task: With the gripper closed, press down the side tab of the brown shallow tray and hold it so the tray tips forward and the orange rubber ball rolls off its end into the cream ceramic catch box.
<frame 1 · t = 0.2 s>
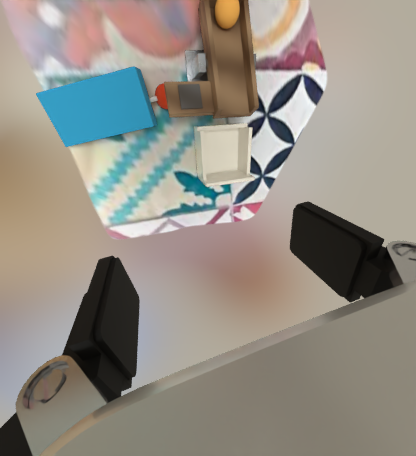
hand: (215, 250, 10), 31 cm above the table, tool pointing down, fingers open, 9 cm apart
catch box: (218, 151, 38), on the table
brown shallow tray: (206, 60, 26), point 6 cm above the table, hinge at -22.0°, touching ball
stand: (216, 71, 31), on the table
lever 2: (119, 108, 31), on the table
ball: (227, 10, 24), point 5 cm above the table, tilted 13°, touching brown shallow tray
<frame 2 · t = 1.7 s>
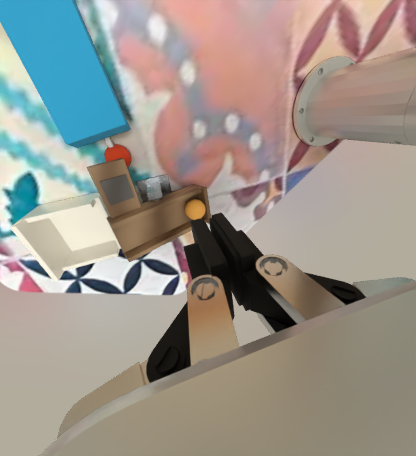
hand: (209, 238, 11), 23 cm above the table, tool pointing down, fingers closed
catch box: (86, 223, 31), on the table
brown shallow tray: (157, 199, 27), point 6 cm above the table, hinge at -22.0°, touching ball
stand: (160, 205, 33), on the table
lever 2: (88, 95, 24), on the table
ball: (195, 209, 30), point 5 cm above the table, tilted 13°, touching brown shallow tray
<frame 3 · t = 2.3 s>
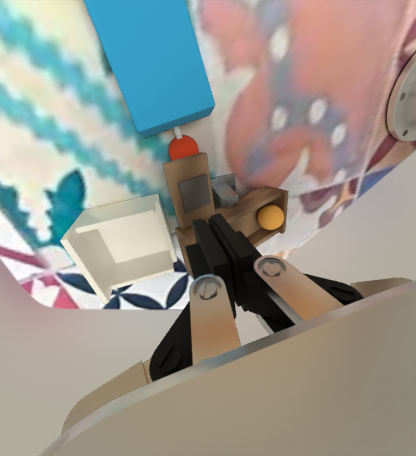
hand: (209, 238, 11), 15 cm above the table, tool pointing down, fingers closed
catch box: (134, 231, 26), on the table
brown shallow tray: (232, 205, 22), point 6 cm above the table, hinge at -22.0°, touching ball
stand: (219, 210, 28), on the table
lever 2: (155, 70, 19), on the table
ball: (270, 217, 24), point 5 cm above the table, tilted 13°, touching brown shallow tray
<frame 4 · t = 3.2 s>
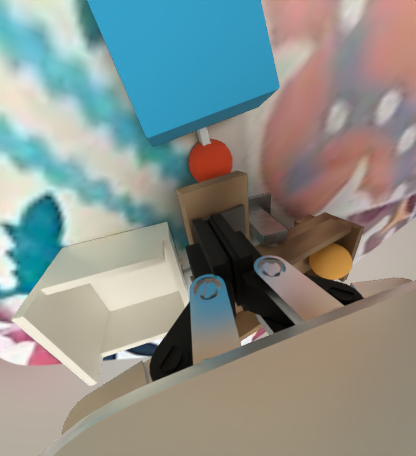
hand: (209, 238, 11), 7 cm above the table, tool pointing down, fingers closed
catch box: (134, 270, 19), on the table
brown shallow tray: (277, 245, 15), point 6 cm above the table, hinge at -12.9°, touching ball, gripper
stand: (247, 239, 21), on the table
lever 2: (168, 39, 12), on the table
ball: (329, 260, 17), point 6 cm above the table, touching brown shallow tray
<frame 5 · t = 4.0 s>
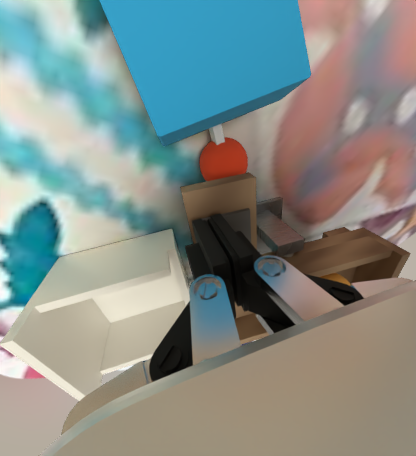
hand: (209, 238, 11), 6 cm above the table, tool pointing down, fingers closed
catch box: (136, 280, 18), on the table
brown shallow tray: (290, 256, 13), point 6 cm above the table, hinge at 2.2°, touching ball, gripper
stand: (255, 246, 20), on the table
lever 2: (177, 26, 11), on the table
ball: (328, 293, 14), point 7 cm above the table, tilted 100°, touching brown shallow tray
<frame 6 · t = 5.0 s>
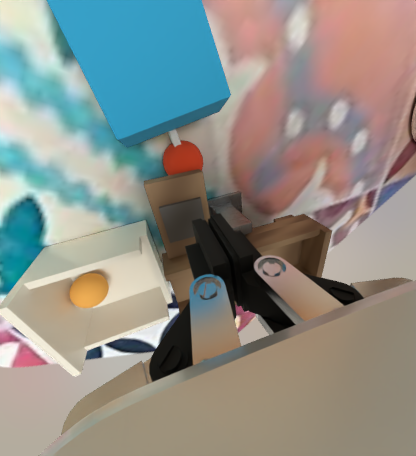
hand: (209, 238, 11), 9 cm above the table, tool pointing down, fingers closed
catch box: (116, 268, 20), on the table
brown shallow tray: (242, 237, 16), point 6 cm above the table, hinge at 2.4°
stand: (222, 235, 23), on the table
lever 2: (138, 53, 14), on the table
ball: (90, 290, 18), point 2 cm above the table, tilted 35°, touching catch box
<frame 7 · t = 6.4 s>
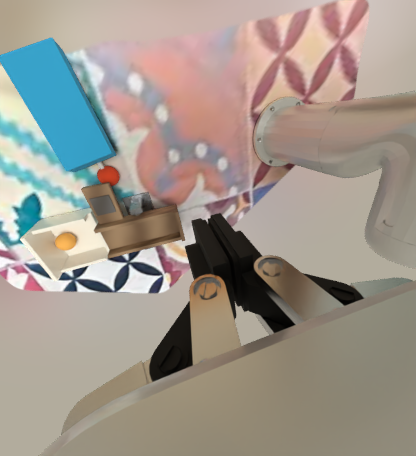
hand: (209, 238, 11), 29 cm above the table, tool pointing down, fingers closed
catch box: (80, 233, 37), on the table
brown shallow tray: (137, 215, 33), point 6 cm above the table, hinge at 2.4°
stand: (143, 217, 39), on the table
lever 2: (82, 128, 30), on the table
ball: (66, 241, 35), point 2 cm above the table, tilted 25°, touching catch box
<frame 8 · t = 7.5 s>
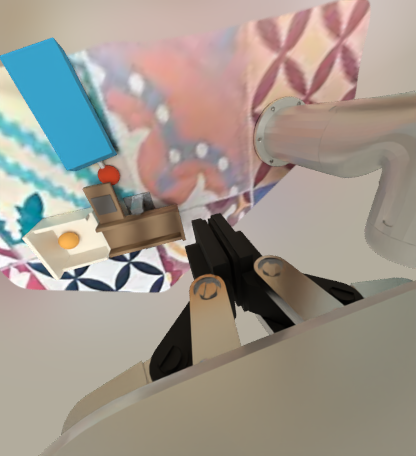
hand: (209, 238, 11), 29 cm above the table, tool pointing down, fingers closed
catch box: (82, 232, 38), on the table
brown shallow tray: (138, 214, 33), point 6 cm above the table, hinge at 2.4°
stand: (144, 216, 40), on the table
lever 2: (82, 127, 30), on the table
ball: (68, 240, 36), point 2 cm above the table, tilted 18°, touching catch box
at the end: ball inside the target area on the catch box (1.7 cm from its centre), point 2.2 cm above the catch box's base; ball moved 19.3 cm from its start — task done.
